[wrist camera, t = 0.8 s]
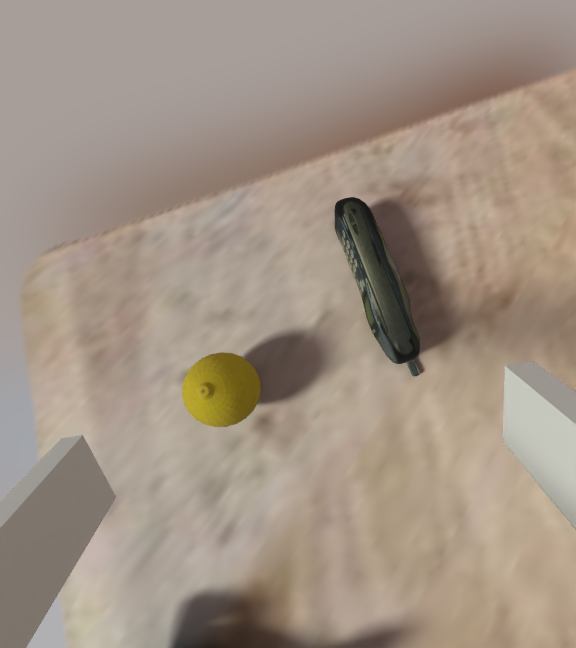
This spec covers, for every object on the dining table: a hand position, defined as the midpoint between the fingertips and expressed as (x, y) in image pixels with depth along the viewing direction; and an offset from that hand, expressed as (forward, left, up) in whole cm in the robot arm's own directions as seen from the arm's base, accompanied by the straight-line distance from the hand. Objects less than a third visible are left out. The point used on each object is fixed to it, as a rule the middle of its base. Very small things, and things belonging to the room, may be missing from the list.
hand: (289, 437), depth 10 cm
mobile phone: (+6, -8, -19) cm, 21 cm away
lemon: (+3, +6, -18) cm, 20 cm away
